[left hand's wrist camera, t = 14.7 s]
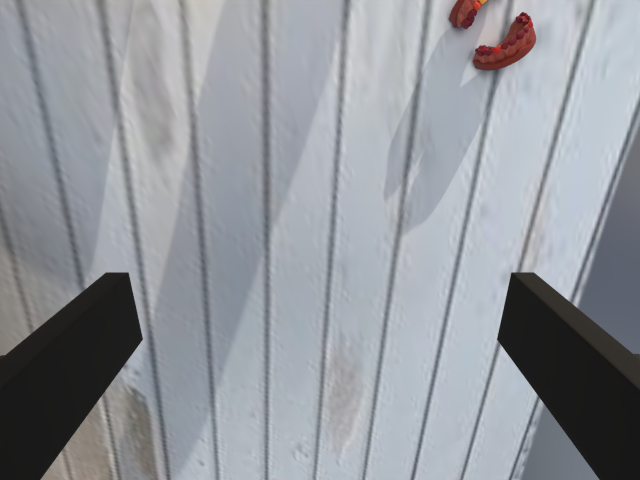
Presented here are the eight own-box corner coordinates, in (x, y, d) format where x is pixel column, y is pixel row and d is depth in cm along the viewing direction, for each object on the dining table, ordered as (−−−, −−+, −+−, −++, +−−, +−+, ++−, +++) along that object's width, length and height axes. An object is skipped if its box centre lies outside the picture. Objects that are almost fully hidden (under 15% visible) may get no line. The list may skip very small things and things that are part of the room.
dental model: (514, -52, 30) (555, 35, 32) (493, -37, 34) (531, 40, 36) (454, -2, 31) (497, 78, 34) (440, 7, 35) (480, 78, 38)
